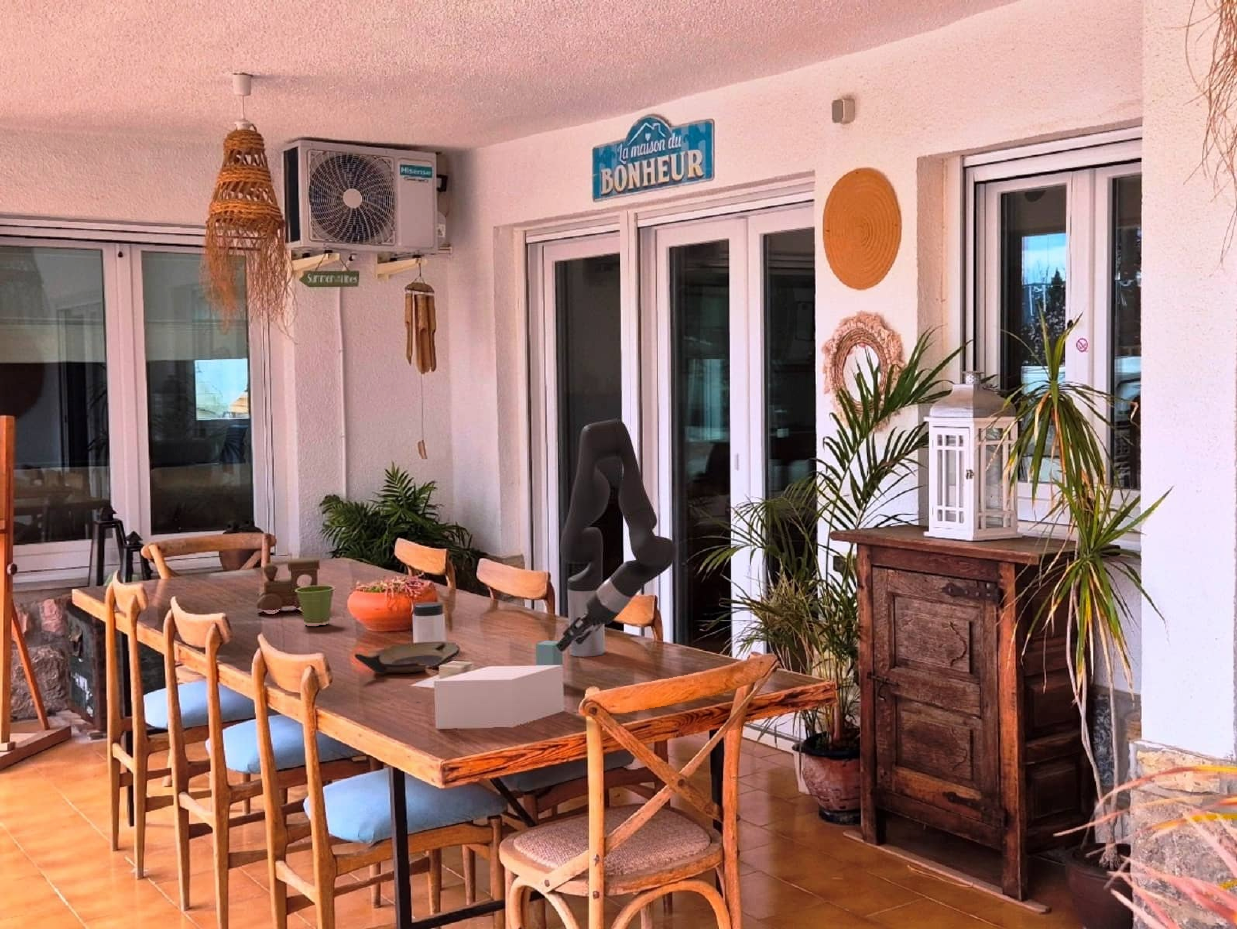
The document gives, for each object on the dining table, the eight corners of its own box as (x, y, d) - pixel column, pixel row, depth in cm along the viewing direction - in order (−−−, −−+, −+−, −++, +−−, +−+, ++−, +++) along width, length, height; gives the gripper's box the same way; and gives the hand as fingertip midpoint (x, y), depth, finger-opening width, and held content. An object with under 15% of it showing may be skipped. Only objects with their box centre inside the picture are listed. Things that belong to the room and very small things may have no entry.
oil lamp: (477, 671, 329) (476, 641, 328) (362, 688, 314) (361, 657, 313) (442, 656, 348) (441, 628, 348) (332, 672, 333) (331, 642, 333)
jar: (410, 650, 356) (408, 607, 356) (417, 644, 364) (415, 601, 364) (442, 650, 356) (440, 606, 355) (449, 644, 364) (447, 601, 363)
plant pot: (295, 623, 403) (294, 587, 402) (335, 620, 406) (333, 584, 405) (297, 630, 392) (295, 592, 391) (337, 627, 395) (336, 590, 394)
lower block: (453, 677, 318) (452, 660, 318) (474, 678, 316) (473, 662, 316) (439, 682, 313) (438, 665, 313) (460, 684, 310) (460, 667, 310)
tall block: (546, 681, 315) (545, 640, 315) (563, 683, 313) (561, 641, 313) (537, 685, 311) (535, 644, 311) (553, 687, 309) (552, 645, 309)
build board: (448, 675, 325) (447, 671, 325) (503, 680, 318) (503, 676, 318) (410, 689, 311) (409, 685, 311) (467, 695, 304) (467, 690, 304)
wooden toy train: (319, 606, 433) (317, 556, 432) (322, 611, 423) (320, 560, 421) (257, 611, 428) (254, 560, 427) (257, 616, 417) (255, 564, 416)
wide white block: (576, 718, 281) (575, 671, 280) (446, 737, 268) (444, 688, 268) (551, 704, 294) (550, 658, 293) (425, 721, 282) (424, 674, 281)
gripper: (613, 582, 311) (572, 628, 317) (585, 592, 298) (543, 639, 304) (634, 606, 309) (592, 651, 315) (607, 616, 296) (563, 663, 302)
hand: (568, 645), depth 309 cm, fingers open, 8 cm apart
